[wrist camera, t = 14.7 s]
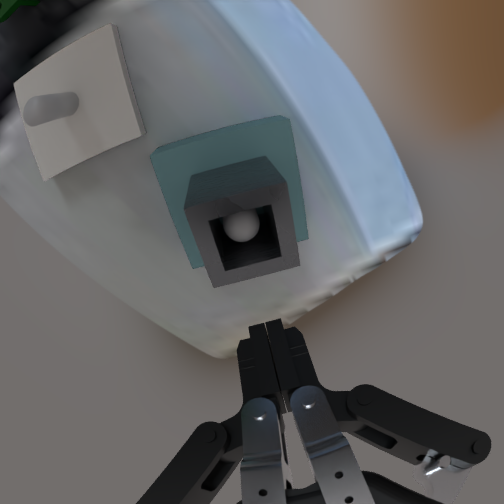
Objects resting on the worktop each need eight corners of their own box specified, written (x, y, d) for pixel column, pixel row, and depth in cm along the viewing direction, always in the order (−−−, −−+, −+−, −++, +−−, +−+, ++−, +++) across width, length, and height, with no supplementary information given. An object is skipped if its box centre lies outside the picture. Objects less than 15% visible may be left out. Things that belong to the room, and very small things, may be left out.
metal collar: (191, 175, 19) (183, 209, 14) (265, 155, 19) (286, 181, 14) (212, 238, 22) (213, 288, 17) (278, 221, 22) (300, 265, 17)
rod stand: (22, 82, 14) (-23, 89, 8) (116, 26, 14) (84, 7, 8) (51, 176, 19) (13, 205, 14) (146, 133, 19) (121, 149, 14)
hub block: (157, 147, 20) (130, 177, 13) (279, 115, 20) (315, 128, 13) (194, 250, 25) (190, 311, 19) (298, 222, 25) (330, 275, 19)
